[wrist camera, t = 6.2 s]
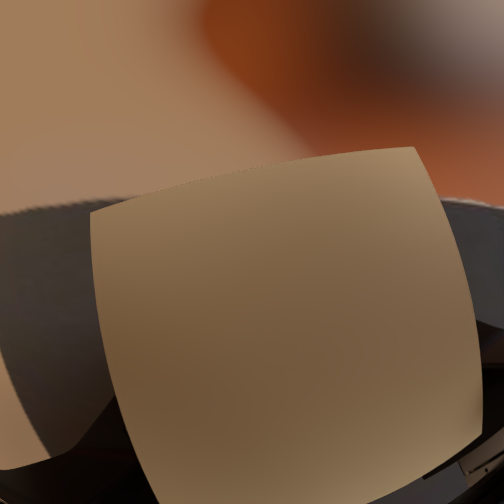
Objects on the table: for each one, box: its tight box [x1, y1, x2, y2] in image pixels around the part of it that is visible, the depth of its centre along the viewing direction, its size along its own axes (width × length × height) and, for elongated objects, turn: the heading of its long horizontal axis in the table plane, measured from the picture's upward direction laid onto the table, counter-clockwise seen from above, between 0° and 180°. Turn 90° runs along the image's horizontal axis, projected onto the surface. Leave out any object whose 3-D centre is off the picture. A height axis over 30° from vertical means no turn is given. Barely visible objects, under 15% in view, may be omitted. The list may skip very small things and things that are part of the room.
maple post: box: [90, 147, 483, 504], centre depth 9 cm, size 4×4×13 cm
